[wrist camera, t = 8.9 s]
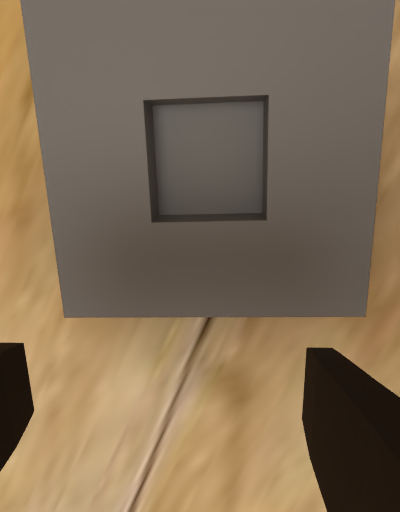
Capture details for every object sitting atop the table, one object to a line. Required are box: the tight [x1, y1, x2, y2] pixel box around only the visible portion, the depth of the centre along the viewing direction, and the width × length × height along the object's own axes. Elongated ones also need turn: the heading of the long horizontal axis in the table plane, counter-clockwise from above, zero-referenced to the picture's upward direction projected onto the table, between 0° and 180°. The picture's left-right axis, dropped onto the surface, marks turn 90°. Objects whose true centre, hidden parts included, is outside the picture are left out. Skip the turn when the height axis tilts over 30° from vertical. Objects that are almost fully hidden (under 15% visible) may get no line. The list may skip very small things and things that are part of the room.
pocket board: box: [20, 0, 395, 318], centre depth 15 cm, size 14×24×3 cm, turn 2°
